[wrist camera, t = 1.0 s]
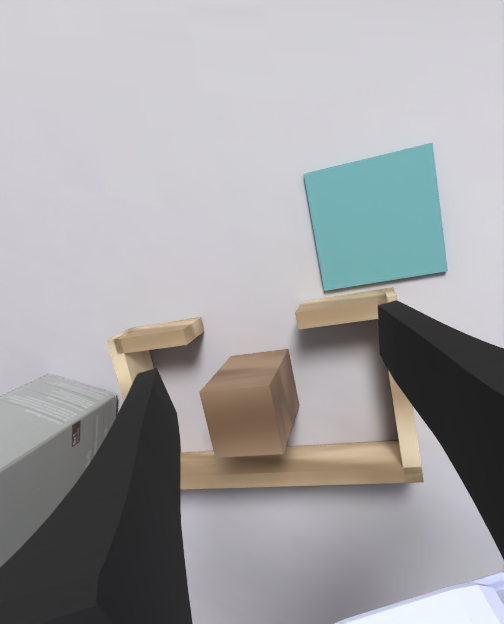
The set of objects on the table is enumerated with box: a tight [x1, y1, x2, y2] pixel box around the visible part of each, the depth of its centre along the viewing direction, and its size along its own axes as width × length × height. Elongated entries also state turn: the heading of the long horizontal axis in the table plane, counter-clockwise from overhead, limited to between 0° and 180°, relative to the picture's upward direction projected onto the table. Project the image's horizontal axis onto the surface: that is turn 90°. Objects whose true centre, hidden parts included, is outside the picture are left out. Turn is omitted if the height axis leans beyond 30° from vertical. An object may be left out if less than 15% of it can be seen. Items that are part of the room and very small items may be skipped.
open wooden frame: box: [107, 287, 424, 489], centre depth 27 cm, size 11×18×3 cm, turn 102°
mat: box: [304, 143, 448, 291], centre depth 24 cm, size 7×7×1 cm
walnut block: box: [199, 349, 299, 458], centre depth 26 cm, size 4×4×6 cm
